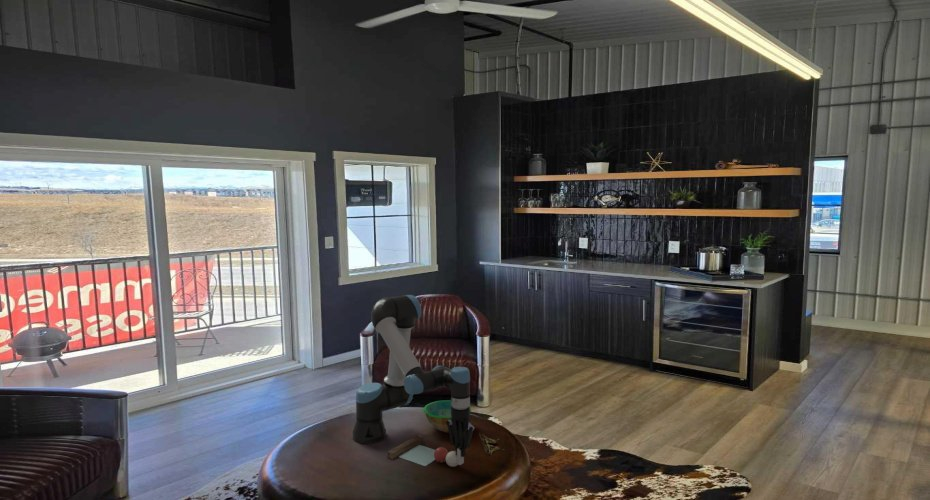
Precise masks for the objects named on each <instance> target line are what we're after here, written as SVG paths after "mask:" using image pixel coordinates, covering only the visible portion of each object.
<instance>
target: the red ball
mask: <svg viewBox="0 0 930 500" xmlns="http://www.w3.org/2000/svg"><path fill="white" fill-rule="evenodd" d="M434 450H435V452H434V458H435V460H434V461H436V462H438V463H442V464H443V463H445V462H446V455H447V454H448V453H449V451H448V449H447V448H446V447H444V446H440V447H437V448H436V449H434Z"/></svg>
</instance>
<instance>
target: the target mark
mask: <svg viewBox="0 0 930 500" xmlns="http://www.w3.org/2000/svg"><path fill="white" fill-rule="evenodd" d="M435 450H436V449H434V448H430V447H427V446H425V445H421V444H418V445H416V446H414V447H413V448H411V449H409V450H407V451H406V452H404V453H402V454H400V455H399V456H398V458H400V459H402V460H406V461H409V462H412V463H414V464H416V465H419V466H423V467H427V466H429V464H431V463H433V462H434V461H436V460H435V458H434V452H435Z"/></svg>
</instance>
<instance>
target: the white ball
mask: <svg viewBox="0 0 930 500" xmlns="http://www.w3.org/2000/svg"><path fill="white" fill-rule="evenodd" d="M445 462H446V465H448V466H449V467H451V468H454V467H457V466H458V465H457V455H456V450H450V451H448V454H447V455H446V461H445Z"/></svg>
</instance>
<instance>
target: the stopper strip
mask: <svg viewBox="0 0 930 500" xmlns="http://www.w3.org/2000/svg"><path fill="white" fill-rule="evenodd" d="M422 439H423V436H421V435H416V436H414V437H412V438H410V439H408V440H406V441H404V442H403V443H401V444H399V445H398V446H395V447H394V448H392V449H390V450H388V451H387V452H386V453H387V459H390V460H393V459H396V458H397V457H399V456H401V455H403V454H404V453H406V452H408V451H409V450H411V449H413V448H415V447H416V446H418V445H420V444H421V443H423V440H422ZM419 443H420V444H419Z"/></svg>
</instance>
